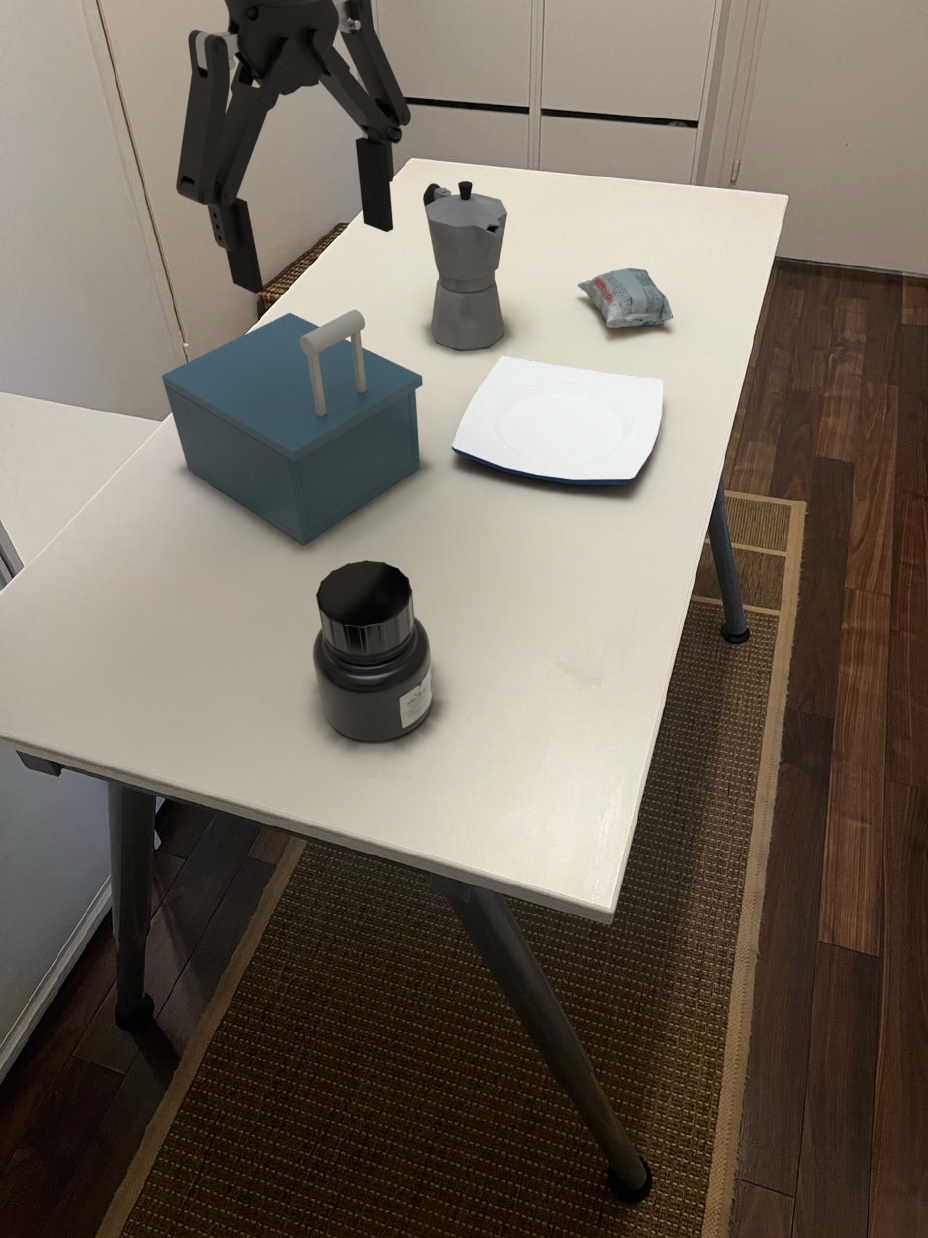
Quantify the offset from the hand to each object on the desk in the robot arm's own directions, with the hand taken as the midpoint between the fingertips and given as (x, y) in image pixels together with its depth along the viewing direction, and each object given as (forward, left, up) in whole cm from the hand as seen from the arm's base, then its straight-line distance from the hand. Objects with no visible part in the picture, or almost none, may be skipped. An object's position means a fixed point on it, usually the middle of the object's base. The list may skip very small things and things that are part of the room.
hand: (316, 255), depth 73 cm
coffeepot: (+12, +35, -26) cm, 45 cm away
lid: (-5, +6, -15) cm, 17 cm away
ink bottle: (+4, -24, -26) cm, 36 cm away
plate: (+22, +12, -26) cm, 36 cm away
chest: (-5, +7, -25) cm, 27 cm away
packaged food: (+32, +37, -26) cm, 55 cm away
